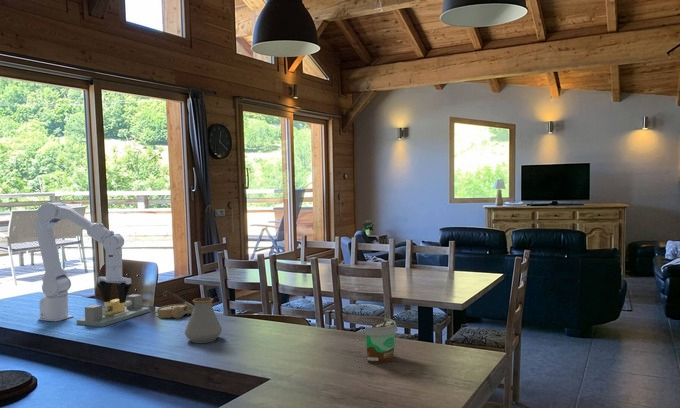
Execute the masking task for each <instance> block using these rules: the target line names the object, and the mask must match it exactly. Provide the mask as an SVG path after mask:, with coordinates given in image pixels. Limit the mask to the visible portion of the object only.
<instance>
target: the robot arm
mask: <svg viewBox="0 0 680 408" xmlns="http://www.w3.org/2000/svg"><path fill="white" fill-rule="evenodd" d="M36 213H37V216H36V220H35V224H34V228H35V233H36V238H37V241H38V246H39V250H40V254H41V259H42V263H43V268H44V271H45V272H44V274H43V276H42V286H41V290H42V293H43V294H44V295H43V296H42V297H41V298H40V301H39V317H38V318H37V320H38V321H48V322H60V321H63V320H66V319H70V318H74V314H73V315H71V314H69V297H68V296H69V289H70V288H71V286H72V282H71V279H70V278H69V277H68V275H67V272H66V271H65V270H64V269H63V268H62V264H61V261H60V255H59V250H58V247H57V242H56V239H55V235H54V230H53V229H54V227H55V226H56V225H57V224H58V222H60V221H62V220H68V221H70V222H71V223H74V224H75V225H77V226H78V227H80V228H82V229H84V230H85V231H86V235H87V236H89V237H90V238H92V239H93V240H95V241H97V242H98V243H100V244H101V245H102V247H103V248H104V250H105V276H98V277H97V284H96V286H97V288H98V289H99V292H100V293H101V296H102V299H103V302H106V301H110V299H111V290H112V285H113V284H116V285H115V286H116V288H117V292H118V299H119V302H120V303H124V302H125V301H126V296H128V293H129V290H130V288H131V287H132V278H130V277H124V276H123V246H124V244H125V238H124V237H123V235H121V234H120V233H115V231H113V230H109V229H108V228H107V227H105V224H103V223H102V222H100V223H99V222H91V221H90V220H89V219H88V218H87V217H85V216H83V215H82V214H80V213H79V212H78V211H76V210H75V209H74V208H73V207H72V206H70V205H67V204H66V203H64V202H61V201H59V202H44V203H43V204H41V205H40V206H39V208H37V210H36Z"/></svg>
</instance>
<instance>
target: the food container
mask: <svg viewBox="0 0 680 408" xmlns="http://www.w3.org/2000/svg"><path fill="white" fill-rule="evenodd" d="M383 320H384V321H382V322H381V323H380V322H379V323H376V324H374V325H373V326H370V327H369V326H365V330H364V335H365V339H366V340H365V341H366V354H367V355H366V357H367V358H366V359H367V363H368V364H386V363H387V364H388V363H390V362H393V360H394V355H395V354H394V353H395V343H396V342H395V339H396V333H397V332H398V326H397V323H396V321H395V320H394V319H391V318H387V317H384V319H383Z"/></svg>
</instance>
